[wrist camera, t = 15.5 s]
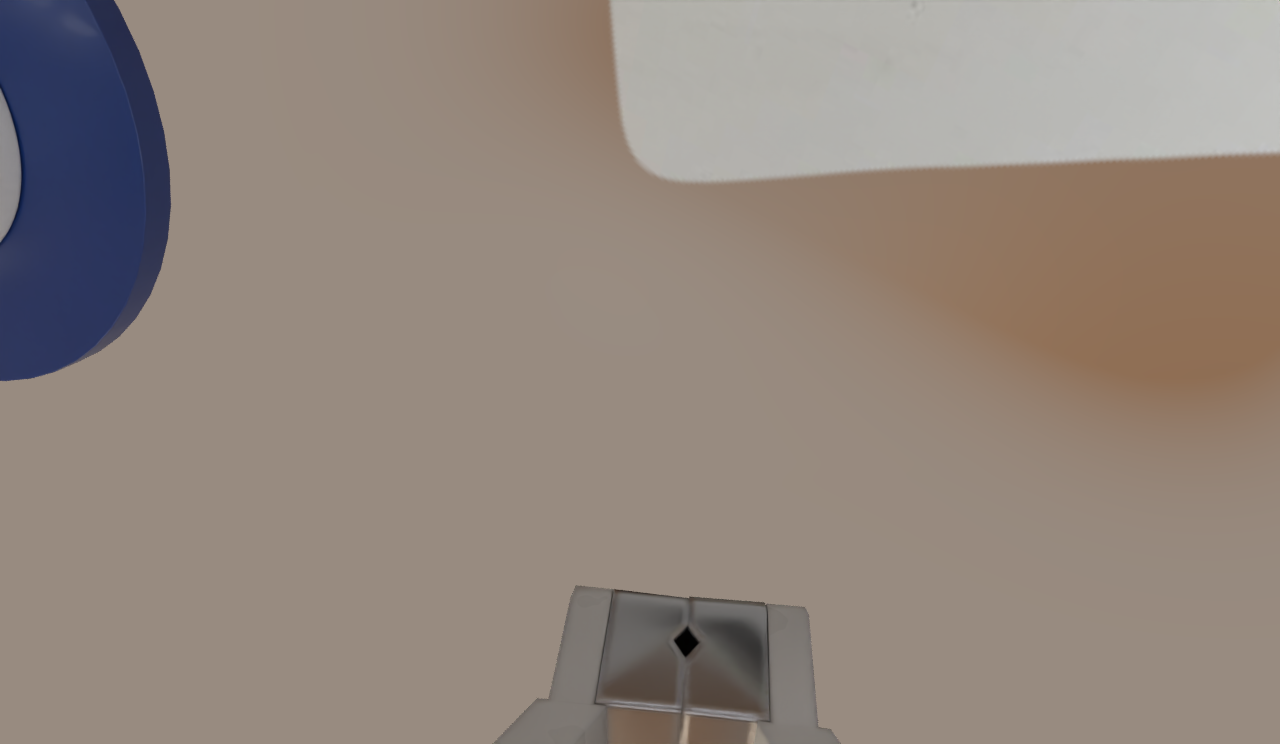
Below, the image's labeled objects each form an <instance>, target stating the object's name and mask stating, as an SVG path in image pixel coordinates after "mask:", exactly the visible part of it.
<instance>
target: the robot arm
mask: <svg viewBox="0 0 1280 744" xmlns="http://www.w3.org/2000/svg"><path fill="white" fill-rule="evenodd" d="M20 191H21V160H20V152H19V146H18V140H17V136H16V131H15V127H14V124H13V120H12V117H11V114H10V111H9V108H8V105H7V103H6V100H5V98H4V95H3V93H2V90H1V88H0V242H1V241H2V240H3V238H4V237H5V235H6V234H7V232H8V231H9V229H10V227H11V225H12V223H13V220H14V218H15V215H16V212H17V208H18V204H19V198H20ZM493 744H841V743H840V742H839V740H838V739H837V737H836V736H835V735H834V733H833V732H832V730H831V729H826V728H820V727H818V718H817V707H816V694H815V682H814V670H813V659H812V648H811V635H810V623H809V614H808V612H807V610H806V608H805V607H798V606H787V605H786V606H785V605H775V604H766V605H765V603H764V602H751V601H738V600H724V599H712V598H700V597H689V598H682V597H674V596H665V595H657V594H649V593H640V592H632V591H623V590H616V589H605V588H596V587H585V586H575V589H574V591H573V593H572V595H571V599H570V603H569V608H568V612H567V617H566V621H565V626H564V631H563V636H562V640H561V644H560V649H559V654H558V658H557V663H556V667H555V672H554V677H553V681H552V686H551V690H550V695H549V699H538V698H537V699H536V700H535V701H534V702H533V703H532V704H531V705H530V706H529V707H528V708H527V709H526V710H525V711H524V712H523V713H522V714H521V715H520V716H519V718H517V719H516V721H515V722H514V723H513V724H512V725H511V726H510V727H509V728H508V729H507V730H506V731H505V732H504V733H503V734H502V735H501V736H500V737H499V738H498V739H497V740H496V741H495V742H494V743H493Z"/></svg>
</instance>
